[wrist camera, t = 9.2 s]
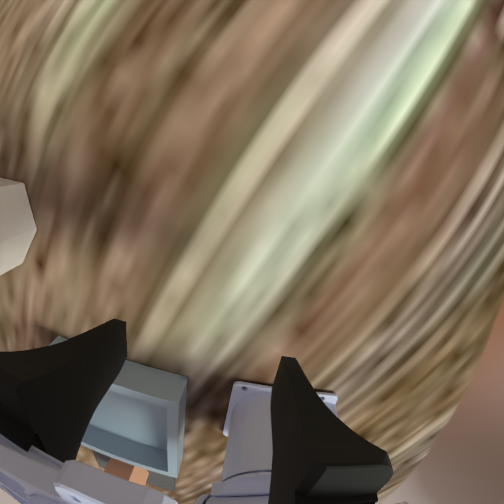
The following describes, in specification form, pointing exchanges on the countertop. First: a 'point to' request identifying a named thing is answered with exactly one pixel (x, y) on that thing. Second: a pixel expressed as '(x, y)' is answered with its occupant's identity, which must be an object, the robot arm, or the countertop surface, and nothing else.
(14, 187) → the jar
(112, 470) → the block
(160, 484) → the mat
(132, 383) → the bin
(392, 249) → the countertop surface
